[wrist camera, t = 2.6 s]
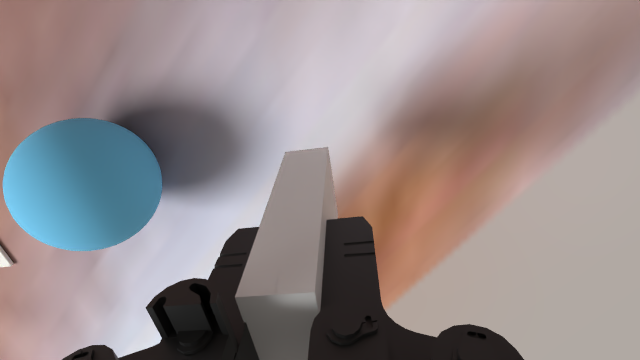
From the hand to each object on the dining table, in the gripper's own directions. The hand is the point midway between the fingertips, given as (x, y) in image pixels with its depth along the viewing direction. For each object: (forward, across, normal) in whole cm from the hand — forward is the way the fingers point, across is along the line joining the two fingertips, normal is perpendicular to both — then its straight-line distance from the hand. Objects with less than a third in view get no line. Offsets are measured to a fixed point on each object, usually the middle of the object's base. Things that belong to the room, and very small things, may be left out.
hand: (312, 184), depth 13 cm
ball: (+1, -10, 0) cm, 10 cm away
